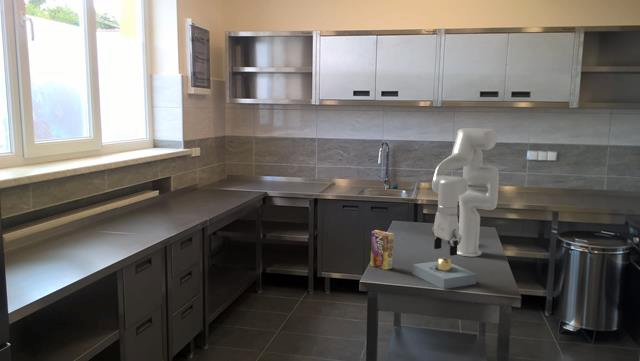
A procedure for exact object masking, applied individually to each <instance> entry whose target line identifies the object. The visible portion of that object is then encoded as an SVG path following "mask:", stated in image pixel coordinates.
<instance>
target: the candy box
mask: <svg viewBox="0 0 640 361" xmlns="http://www.w3.org/2000/svg"><path fill="white" fill-rule="evenodd" d="M394 236H395V235H394V233H393V232H387V231H382V230H380V229H379V230H378V229H375V230H372V231H371V247H370V248H371V249H370V266H371V267H375V268H379V269H383V270H391V269H393V253H394Z"/></svg>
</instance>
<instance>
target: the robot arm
mask: <svg viewBox="0 0 640 361" xmlns="http://www.w3.org/2000/svg"><path fill="white" fill-rule="evenodd" d="M497 141H498V133H497V132H496V130H495V129H493V128H477V127H474V128H473V127H465V128H460V129H458V130H457V133H456V138H455V141H454V143H453V148H452V151H451V154H450V155H449V156H448V157H446V158H445V159H443V160H442V161H441V162H439V164H438V165H437V166H436V168H435V171H434V174H433V178H432V181H431V189H432V191H433V192H434V193H436V194H437V195H438V196H437V198H438V199H437V211H436V213H435V216H434V223H433V224H434V225H433V226H432V227H431V231H432V235H433V240H434V242H433V243H434V244H433V248H434V250H440V249H442V242H443V241H442V240H444V241H448V240H449V241H450V243H451V244H450V245H449V257H452V256H457V255H458V256H463V257H470V258H471V257H472V258H473V257H479V256H482V251H481V250H479V243H480V227H481V226H480V225H481V216H480V214H479V212H478V211H477V209H479V210H480V209H482V210H488V211H491V210H492V211H493V210H495V209H496V208H497V206H498V201H499V198H498V197H499V184H500V183H499V182H500V181H499V179H500V177H499V176H500V174H499V173H500V172H499V170H498V168H497V167H496V166H494V165H485V164H483V163H484V162H483V159H484V152H482V151H483V150H484V151H486V150H487V151H488V150H491V149H493V148H494V147H495V146H496V144H497ZM461 168H463V169H462V176H454V175H446V174H447V173H449V172H451V171H454V170H459V169H461ZM469 185H473V186H480V187H471V186H469ZM481 186H483V187H486V188H483V187H482V188H481ZM458 205H459V215H458ZM458 216H459V218H458ZM458 223H459V231H458ZM453 240H454V242H453Z"/></svg>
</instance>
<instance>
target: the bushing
mask: <svg viewBox="0 0 640 361" xmlns="http://www.w3.org/2000/svg"><path fill="white" fill-rule="evenodd" d="M437 261H438V271H442V272H450V269H451V263H452V259H450V258H448V257H439V258H438V259H437Z"/></svg>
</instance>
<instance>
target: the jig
mask: <svg viewBox="0 0 640 361" xmlns="http://www.w3.org/2000/svg"><path fill="white" fill-rule="evenodd" d="M477 274H478V273H475V272H472V270H471V271H470V270H469V269H465V268H464V267H462V266H459V265H456V264H454V263H452V262H451V269H450V272H442V271H438V260H436V261H428V262H421V263H413V264H412V275H414V276H416V277H419V278H421V279H422V280H424V281H427V282H428V283H430V284H432V285H434V286H436V287H438V288H440V289H443V290H446V289H453V288H458V287H466V286H471V285H476V284H477V278H478V276H477Z"/></svg>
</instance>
